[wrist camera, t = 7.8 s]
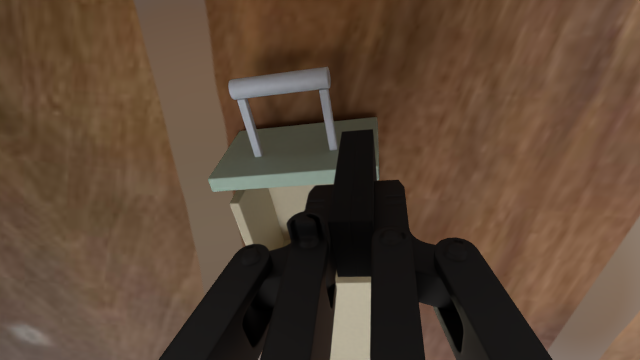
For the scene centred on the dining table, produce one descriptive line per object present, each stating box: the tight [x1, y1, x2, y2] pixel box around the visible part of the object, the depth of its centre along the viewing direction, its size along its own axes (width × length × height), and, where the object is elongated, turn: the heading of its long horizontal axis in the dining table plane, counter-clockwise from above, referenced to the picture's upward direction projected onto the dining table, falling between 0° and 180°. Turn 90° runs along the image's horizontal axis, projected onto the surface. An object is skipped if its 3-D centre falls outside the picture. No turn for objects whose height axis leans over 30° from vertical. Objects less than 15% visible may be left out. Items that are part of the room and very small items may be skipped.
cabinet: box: [330, 275, 371, 360], centre depth 39 cm, size 15×14×10 cm
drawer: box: [208, 67, 379, 275], centre depth 31 cm, size 20×13×8 cm, turn 10°
